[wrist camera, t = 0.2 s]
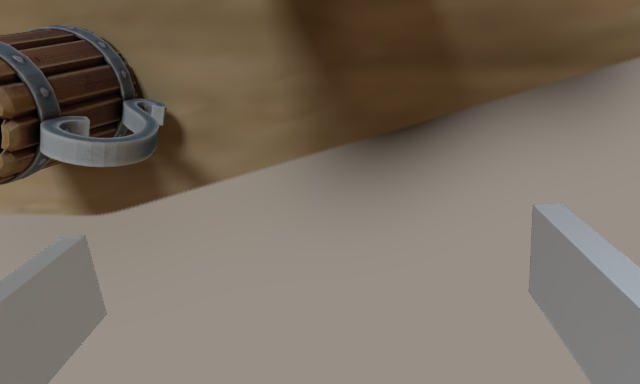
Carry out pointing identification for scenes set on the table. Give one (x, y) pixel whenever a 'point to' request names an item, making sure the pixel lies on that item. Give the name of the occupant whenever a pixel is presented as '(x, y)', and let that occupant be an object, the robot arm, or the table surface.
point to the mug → (70, 104)
